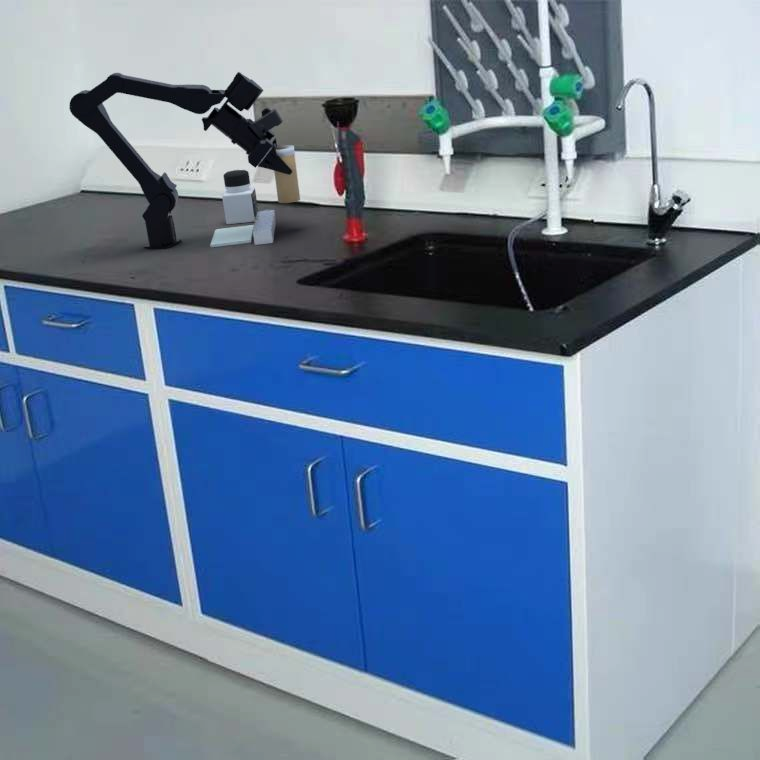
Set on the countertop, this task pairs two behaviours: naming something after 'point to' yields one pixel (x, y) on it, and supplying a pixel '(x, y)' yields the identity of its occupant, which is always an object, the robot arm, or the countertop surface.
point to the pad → (232, 236)
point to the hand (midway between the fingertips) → (291, 171)
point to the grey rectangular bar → (264, 227)
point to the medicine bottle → (239, 198)
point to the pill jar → (287, 176)
